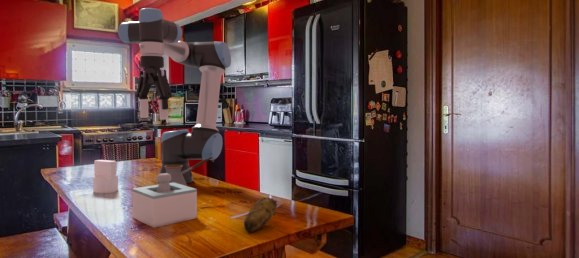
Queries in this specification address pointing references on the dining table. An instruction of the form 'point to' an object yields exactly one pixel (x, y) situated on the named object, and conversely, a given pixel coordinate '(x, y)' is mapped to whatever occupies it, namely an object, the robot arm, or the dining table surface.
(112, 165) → the base with upright slab
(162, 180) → the salt shaker
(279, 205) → the fork
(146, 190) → the drop box
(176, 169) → the coffee pot
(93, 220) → the dining table surface
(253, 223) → the potato
